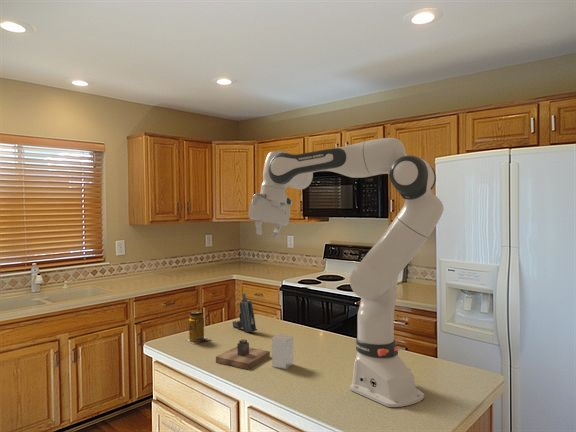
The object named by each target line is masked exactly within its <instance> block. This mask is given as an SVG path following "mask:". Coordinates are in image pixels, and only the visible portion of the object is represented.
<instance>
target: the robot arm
mask: <svg viewBox="0 0 576 432" xmlns="http://www.w3.org/2000/svg"><path fill="white" fill-rule="evenodd" d="M317 172H331V173H332V172H333V173H336V174H340V175H342V176H345V177H349V178H354V179H356V178H357V179H358V178H362V179H363V178H369V177H373V176H378V175H386V174H387V175H389V181H390V183H391V184H392V186H393V188H394V189H395V190H396V191H397V193H399V196H401V198H402V199H404V200H405V201H404V204H403V206H402V207H401V208H400V211H399V212H398V213H397V215H396V216H395V217H394V219H393V221H391V223H390V224H389V226H387V228H386V230H385V231H384V233H383V234H382V235H381V237H380V238H379V240H378V241H377V242H376V243H375V244H374V245H373V246H372V247H371V249H369V250H368V252H367V253H366V255H365V256H364V257H363V258H362V260H360V262H359V263H358V264H357V266H356V267H355V268H354V269H353V271H352V272H351V274H350V277H349V285H350V288H351V290H352V291H353V293H354V294H355V295H356V296H358V297H359V298H360V302H359V303H360V304H359V308H358V310H357V337H356V338H355V349H356V350H355V351H356V356H355V360H354V364H353V372H352V381H351V382H352V383H351V384H350V386H349V390H350V391H352V392H353V393H357V394H358V395H361V396H362V397H365V398H367V399H370V400H371V401H374V402H375V403H378V404H381V405H383V406H385V407H387V408H400V407H401V408H402V407H405V406H406V407H407V406H410V405H413V404H416V403H420V402H421V401H422V400H423V399H424V398H425V394H424V392H422V390H420V389H418V387H416V380H415V376H414V374H413V372H412V369H411V368H410V367H408V366H407V365H406V364H405V362H404V360H402V358H401V357H400V356H399V351H401V349H400V348H401V346H398V345H397V343H396V340H395V337H394V335H395V332H394V331H395V329H394V327H395V322H394V321H395V307H396V301H397V294H398V293H397V291H398V279H399V275H400V274H401V273H402V271H403V270H404V269H405V267H406V266H407V265H408V264H409V263H411V261H412V260H413V258H414V257H415V256H416V255H417V253H418V252H419V251H420V249H421V248H422V247H423V245H424V243H426V241H427V240H428V239H429V237H430V235H431V234H432V233H433V231H434V229H435V228H436V226H437V225H438V223H439V221H440V219H441V217H442V215H443V212H444V204H443V203H442V202H443V201H441V199H440V197H438V196H436V195H435V194H434V193H433V192H432V190H433V188H434V186H435V184H436V181H437V175H436V171H435V170H434V168H433V166H431V165H430V163H428V161H426V160H425V159H423V158H420V157H419V156H415V155H411V154H410V155H408V154H407V151H406V148H405V146H404V144H403V142H402V141H401V140H400V139H398V138H396V137H383V138H375V139H370V140H365V141H361V142H358V143H357V142H356V143H353V144H349V145H345V146H340V147H334V148H327V149H321V150H315V151H309V152H303V153H299V154H293V153H289V152H287V151H284V150H273V151H270V152H269V153H268V154H267V155H266V158H265V161H264V164H263V170H262V183H261V185H260V192H256V193H255V194H254V195H253V196H252V199H251V202H250V205H249V210H248V218H249V220H253V221H255V222H254V226H255V229H256V231H255V234H256V235H259V236H260V235H261V236H262V235H263V233H264V229H263V226H262V225H263V223H266V224H272V225H274V230H273V231H272V233H271V236H272V237H271V238H278V237H279V233H280V231H281V229H282V227H287V226H288V225H289V223H290V219H291V211H292V210H291V207H290V206H292V204H293V200H292V199H291V197H289V195H287V193H286V191H287V188H292V189H294V190H305V189H307V188H308V187H309V186H310V185H311V183H312V182H313V178H314V173H317Z"/></svg>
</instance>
